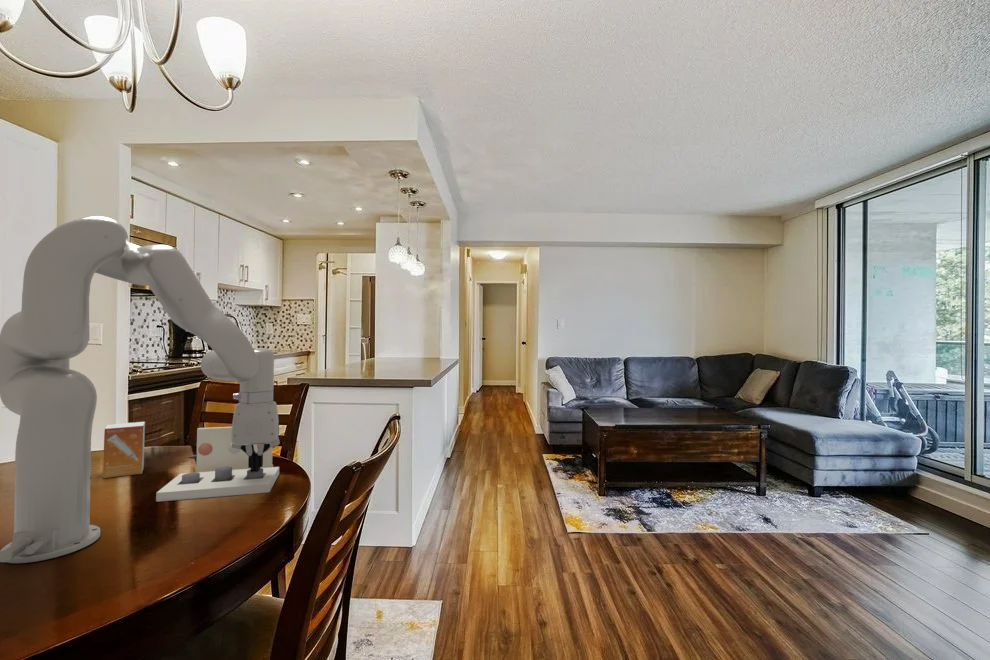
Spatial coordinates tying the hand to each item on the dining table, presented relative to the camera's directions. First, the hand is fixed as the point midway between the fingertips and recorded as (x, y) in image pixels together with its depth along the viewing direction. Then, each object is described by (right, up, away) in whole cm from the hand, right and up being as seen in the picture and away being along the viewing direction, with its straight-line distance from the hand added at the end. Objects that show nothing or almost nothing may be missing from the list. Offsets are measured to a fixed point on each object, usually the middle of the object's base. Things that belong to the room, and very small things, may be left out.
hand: (255, 470), depth 111 cm
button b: (-7, -2, -2) cm, 7 cm away
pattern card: (-10, -3, +8) cm, 13 cm away
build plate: (-28, -4, +23) cm, 37 cm away
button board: (-7, -3, -2) cm, 8 cm away
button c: (0, -3, 0) cm, 3 cm away
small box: (-39, -3, +7) cm, 40 cm away
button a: (-13, -3, -4) cm, 14 cm away
